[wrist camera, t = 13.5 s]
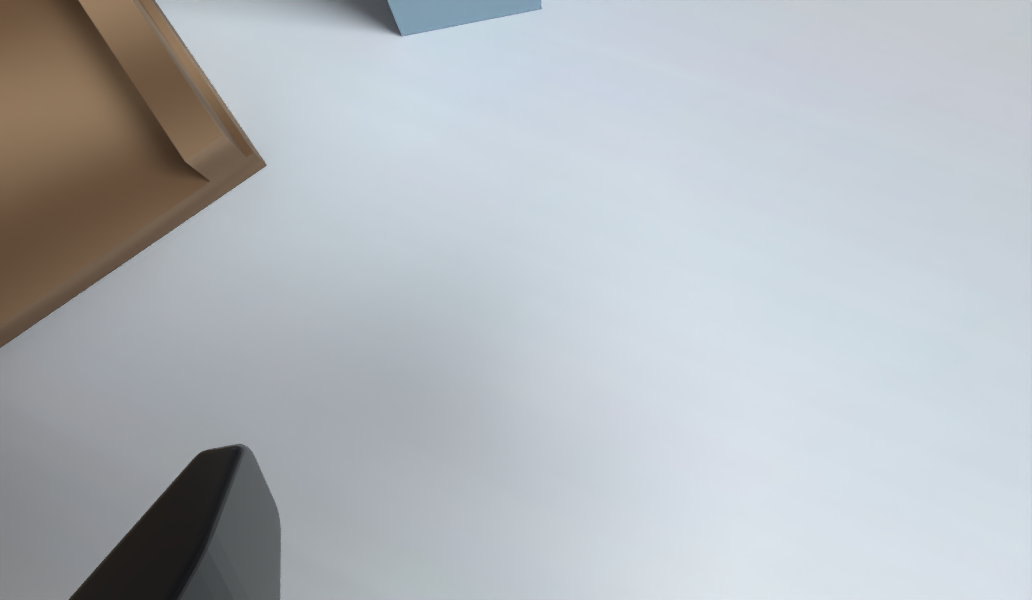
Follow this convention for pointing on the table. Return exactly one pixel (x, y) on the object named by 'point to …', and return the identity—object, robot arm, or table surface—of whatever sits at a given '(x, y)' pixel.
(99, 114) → the tray
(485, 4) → the light blue block
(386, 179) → the table surface
